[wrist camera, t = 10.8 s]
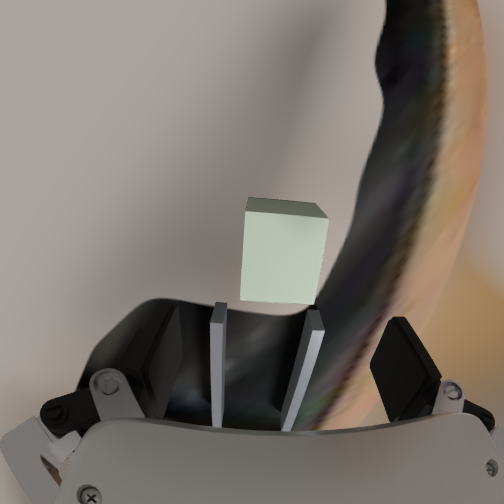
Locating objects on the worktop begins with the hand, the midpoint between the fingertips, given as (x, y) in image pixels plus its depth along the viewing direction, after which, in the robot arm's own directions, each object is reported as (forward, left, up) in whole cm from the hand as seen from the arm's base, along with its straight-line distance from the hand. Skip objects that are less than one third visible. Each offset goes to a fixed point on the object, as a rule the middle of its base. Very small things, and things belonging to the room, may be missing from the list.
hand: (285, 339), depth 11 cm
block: (+1, 0, -11) cm, 11 cm away
